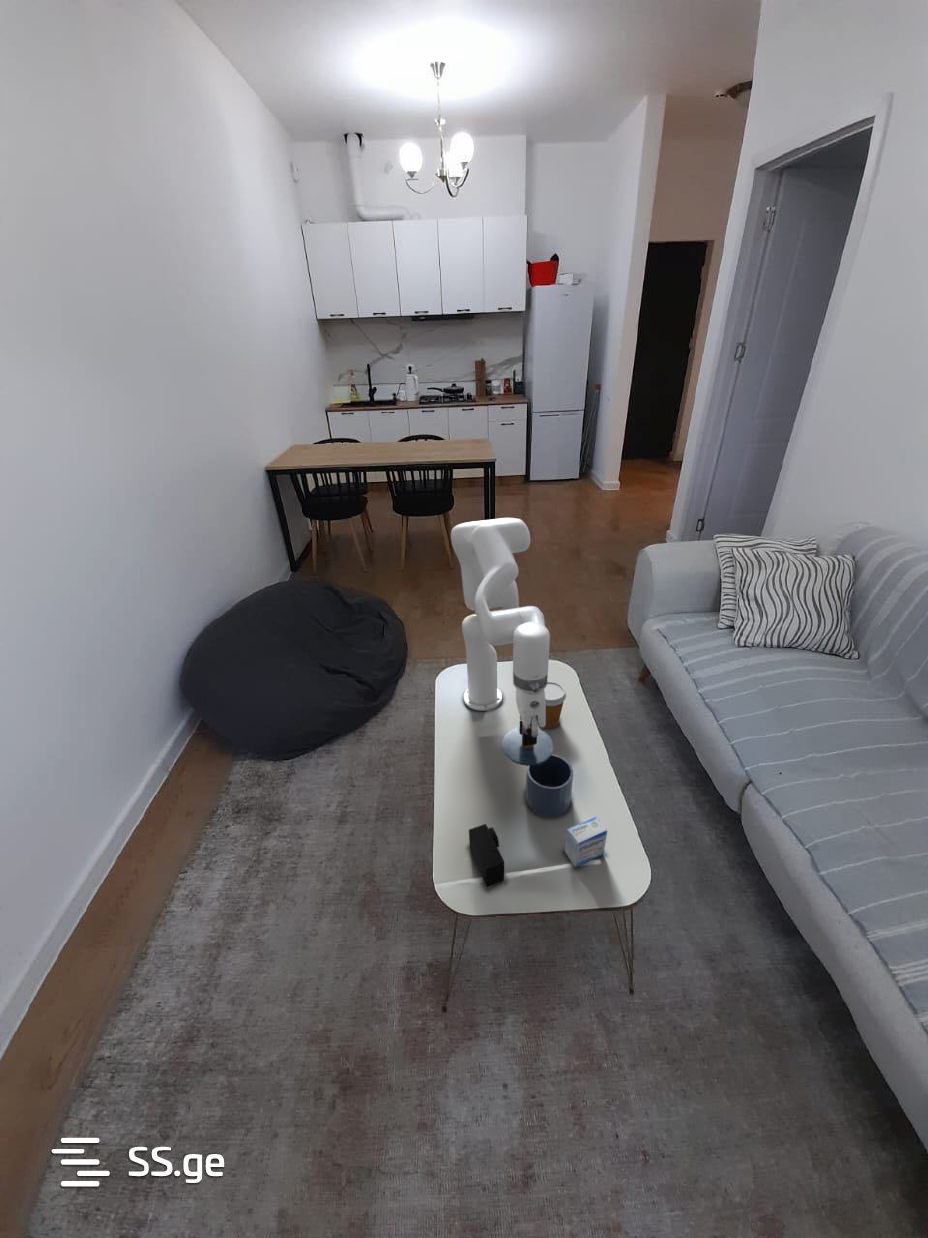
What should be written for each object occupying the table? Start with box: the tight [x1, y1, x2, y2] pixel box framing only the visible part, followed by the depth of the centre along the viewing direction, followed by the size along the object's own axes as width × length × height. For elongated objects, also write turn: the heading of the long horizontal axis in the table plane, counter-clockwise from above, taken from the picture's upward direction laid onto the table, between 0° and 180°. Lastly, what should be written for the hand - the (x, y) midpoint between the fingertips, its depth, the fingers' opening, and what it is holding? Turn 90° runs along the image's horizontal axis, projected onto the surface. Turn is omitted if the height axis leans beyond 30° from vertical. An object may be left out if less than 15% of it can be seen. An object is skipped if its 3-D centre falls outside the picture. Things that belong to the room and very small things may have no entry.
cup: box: [525, 753, 574, 817], centre depth 125 cm, size 11×11×10 cm
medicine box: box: [564, 816, 608, 868], centre depth 112 cm, size 8×4×9 cm, turn 114°
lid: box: [501, 724, 555, 767], centre depth 117 cm, size 12×12×7 cm
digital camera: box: [468, 823, 505, 889], centre depth 111 cm, size 10×5×7 cm, turn 21°
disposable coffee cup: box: [544, 680, 567, 729], centre depth 149 cm, size 10×10×12 cm
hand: (527, 738), depth 117 cm, fingers closed on lid, 2 cm apart
